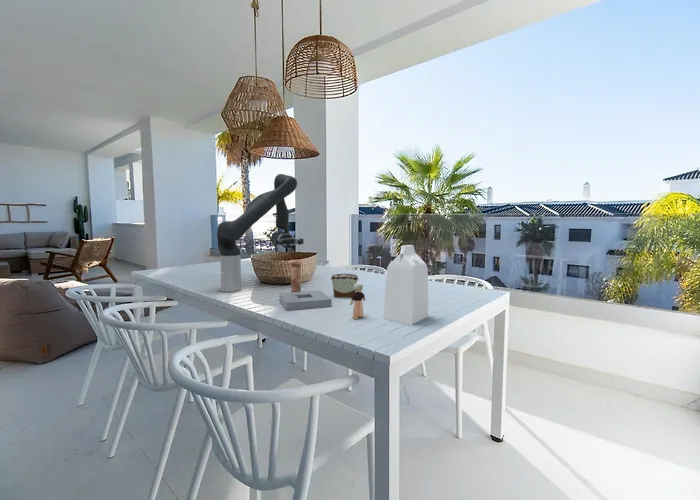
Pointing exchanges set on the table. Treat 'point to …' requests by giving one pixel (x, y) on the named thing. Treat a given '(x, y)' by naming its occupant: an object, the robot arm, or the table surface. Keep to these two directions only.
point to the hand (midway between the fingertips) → (291, 243)
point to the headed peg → (295, 275)
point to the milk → (406, 288)
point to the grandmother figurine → (358, 301)
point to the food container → (344, 285)
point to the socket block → (304, 300)
